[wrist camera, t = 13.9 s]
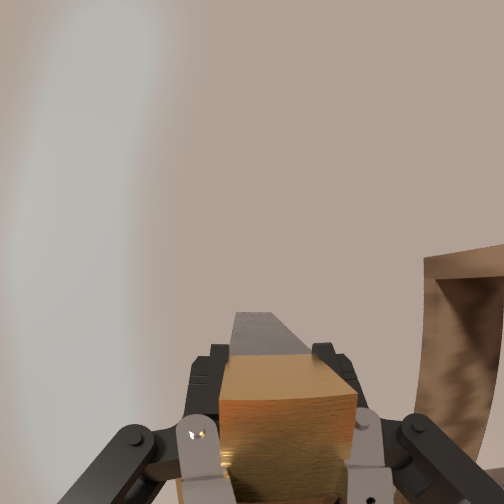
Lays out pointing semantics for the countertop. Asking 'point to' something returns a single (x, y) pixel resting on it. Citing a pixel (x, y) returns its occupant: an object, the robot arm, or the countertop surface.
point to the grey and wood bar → (281, 415)
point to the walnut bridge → (461, 344)
